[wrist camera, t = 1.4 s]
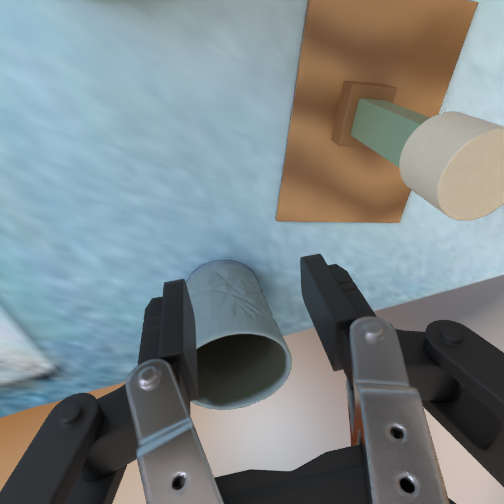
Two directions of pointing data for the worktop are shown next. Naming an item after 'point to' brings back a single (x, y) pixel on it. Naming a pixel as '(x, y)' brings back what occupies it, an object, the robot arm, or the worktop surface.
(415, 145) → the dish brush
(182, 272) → the worktop surface
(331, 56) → the brown flat board
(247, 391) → the grey cup
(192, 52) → the worktop surface
